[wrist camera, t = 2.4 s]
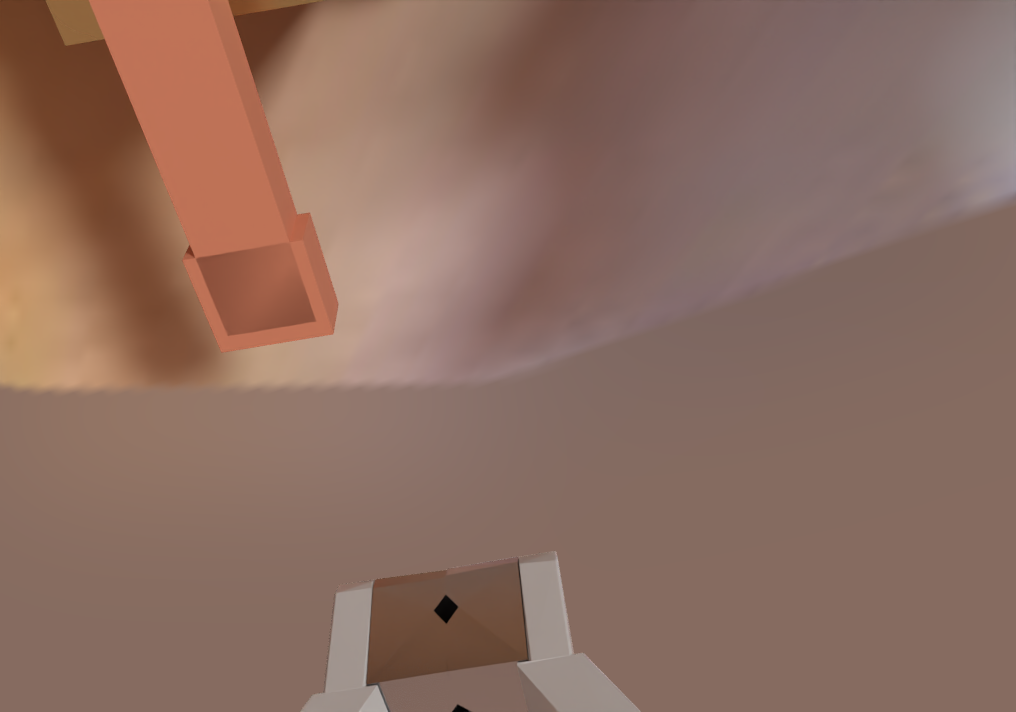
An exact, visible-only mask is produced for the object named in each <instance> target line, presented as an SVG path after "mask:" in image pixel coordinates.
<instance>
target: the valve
mask: <svg viewBox="0 0 1016 712" xmlns="http://www.w3.org/2000/svg"><path fill="white" fill-rule="evenodd" d="M45 1H46V3H47V5H48V8H49V10H50V12H51V14H52V17H53V19H54V21H55V23H56V26H57V28H58V30H59V32H60V35H61V37H62V39H63V42H64V44H65V46H68V45H74V44H80V43H85V42H91V41H97V40H102V39H104V36H103V34H102V31H101V29H100V27H99V24H98V22H97V19H96V17H95V14H94V12H93V10H92V7H91V5H90V2H89V0H45ZM318 1H324V0H228V2H229V5H230V8H231V11H232V15H233V16H239V15H244V14H250V13H256V12H261V11H267V10H273V9H278V8H284V7H290V6H295V5H301V4H307V3H312V2H318Z"/></svg>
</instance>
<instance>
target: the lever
mask: <svg viewBox="0 0 1016 712" xmlns="http://www.w3.org/2000/svg"><path fill="white" fill-rule="evenodd" d="M89 2H90V5H91V7H92V10H93V12H94V14H95V17H96V19H97V22H98V24H99V27H100V29H101V31H102V34H103V36H104V39H105V41H106V43H107V46H108V48H109V51H110V53H111V55H112V58H113V60H114V63H115V65H116V68H117V70H118V72H119V75H120V77H121V80H122V82H123V84H124V87H125V89H126V92H127V94H128V97H129V99H130V101H131V104H132V106H133V109H134V111H135V113H136V116H137V118H138V121H139V123H140V126H141V128H142V130H143V133H144V135H145V138H146V140H147V142H148V145H149V147H150V150H151V152H152V154H153V157H154V159H155V162H156V164H157V167H158V169H159V171H160V174H161V176H162V179H163V181H164V183H165V186H166V188H167V191H168V193H169V196H170V198H171V200H172V203H173V205H174V208H175V210H176V212H177V215H178V217H179V220H180V222H181V225H182V227H183V229H184V232H185V234H186V237H187V239H188V241H189V244H190V245H189V247H188V249H187V252H186V254H185V256H184V258H183V260H182V261H183V263H184V266H185V268H186V270H187V273H188V275H189V277H190V280H191V282H192V284H193V287H194V289H195V291H196V294H197V296H198V298H199V301H200V303H201V306H202V308H203V310H204V313H205V315H206V317H207V320H208V322H209V324H210V327H211V329H212V331H213V334H214V336H215V338H216V341H217V343H218V346H219V348H220V350H221V353H222V352H228V351H234V350H240V349H247V348H253V347H259V346H265V345H271V344H277V343H283V342H289V341H295V340H301V339H307V338H313V337H319V336H325V335H331V334H333V333H334V327H335V321H336V315H337V309H338V301H337V298H336V294H335V291H334V288H333V285H332V282H331V279H330V275H329V272H328V269H327V266H326V263H325V259H324V256H323V253H322V250H321V247H320V243H319V240H318V237H317V234H316V231H315V228H314V224H313V221H312V218H311V215H310V213H304V214H299V215H297V212H296V209H295V206H294V203H293V200H292V197H291V194H290V191H289V188H288V184H287V181H286V178H285V175H284V172H283V169H282V166H281V163H280V160H279V157H278V154H277V150H276V147H275V144H274V141H273V138H272V135H271V132H270V129H269V126H268V123H267V120H266V116H265V113H264V110H263V107H262V104H261V101H260V98H259V95H258V92H257V89H256V86H255V82H254V79H253V76H252V73H251V70H250V67H249V64H248V61H247V58H246V55H245V52H244V49H243V45H242V42H241V39H240V36H239V33H238V30H237V27H236V24H235V21H234V18H233V15H232V11H231V8H230V5H229V2H228V0H89Z"/></svg>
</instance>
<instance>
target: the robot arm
mask: <svg viewBox="0 0 1016 712" xmlns="http://www.w3.org/2000/svg"><path fill="white" fill-rule="evenodd" d="M300 712H640V711H639V709H638V708H637V707H636V706H635V705H634V704H633V703H632V702H631V701H630V700H629V699H628V698H627V697H626V696H625V695H624V694H623V693H622V692H621V691H620V690H619V689H618V688H617V687H616V686H615V685H614V684H613V683H612V682H611V681H610V680H609V679H608V678H607V677H606V676H605V674H603V672H602V671H600V670H599V668H598V667H596V665H595V664H594V663H593V662H592V661H591V660H590V659H589V658H588V657H587V656H586V655H585V654H584V653H579V654H574V653H573V646H572V640H571V634H570V628H569V622H568V616H567V611H566V605H565V599H564V593H563V587H562V581H561V575H560V570H559V564H558V558H557V555H556V552H555V551H553V552H547V553H541V554H535V555H528V556H522V557H513V558H507V559H501V560H496V561H489V562H483V563H478V564H472V565H466V566H460V567H454V568H448V569H447V570H443V571H435V572H428V573H420V574H412V575H405V576H397V577H390V578H382V579H376V580H369V581H362V582H356V583H348V584H341V585H339V586H338V589H337V591H336V593H335V596H334V603H333V611H332V620H331V629H330V638H329V646H328V655H327V664H326V673H325V681H324V691H323V693H319V694H314V695H312V696H311V697H310V699H309V700H308V701H307V703H306V704H305V705H304V707H303V708H302V709H301V711H300Z"/></svg>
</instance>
